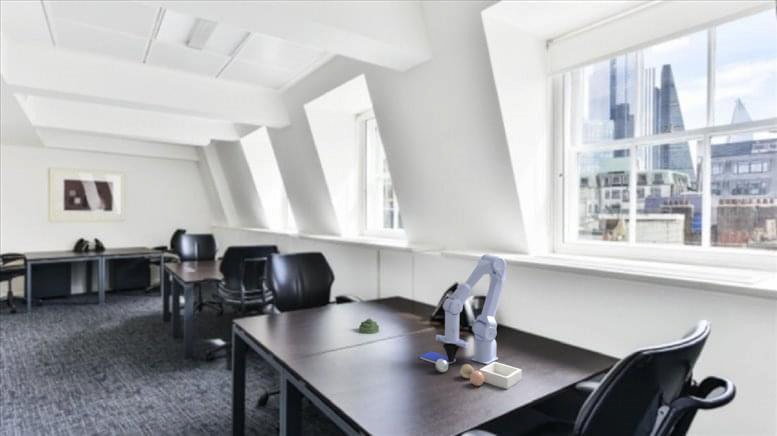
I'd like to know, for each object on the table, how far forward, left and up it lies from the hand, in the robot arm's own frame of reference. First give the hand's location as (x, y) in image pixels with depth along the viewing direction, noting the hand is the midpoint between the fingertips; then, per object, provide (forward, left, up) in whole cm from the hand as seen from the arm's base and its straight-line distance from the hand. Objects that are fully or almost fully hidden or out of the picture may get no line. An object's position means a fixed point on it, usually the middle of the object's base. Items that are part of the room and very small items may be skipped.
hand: (451, 361), depth 168 cm
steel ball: (+9, +2, -1) cm, 10 cm away
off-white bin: (0, +22, -1) cm, 22 cm away
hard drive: (0, -7, -2) cm, 7 cm away
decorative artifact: (-8, -56, -1) cm, 56 cm away
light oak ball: (+7, +12, -1) cm, 14 cm away
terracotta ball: (+10, +18, -1) cm, 21 cm away
